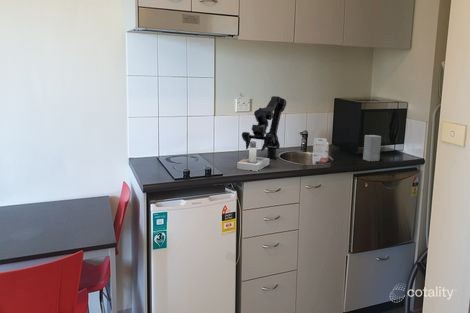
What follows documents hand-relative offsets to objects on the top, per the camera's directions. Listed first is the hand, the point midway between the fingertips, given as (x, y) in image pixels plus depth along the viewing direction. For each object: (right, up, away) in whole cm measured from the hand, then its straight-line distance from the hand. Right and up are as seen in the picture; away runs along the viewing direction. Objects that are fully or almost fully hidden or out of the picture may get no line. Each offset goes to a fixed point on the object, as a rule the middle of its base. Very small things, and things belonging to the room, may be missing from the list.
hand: (254, 149), depth 239 cm
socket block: (+1, -9, +4) cm, 10 cm away
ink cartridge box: (+42, -7, +24) cm, 48 cm away
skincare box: (+75, -6, +30) cm, 81 cm away
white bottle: (-1, -10, 0) cm, 10 cm away
